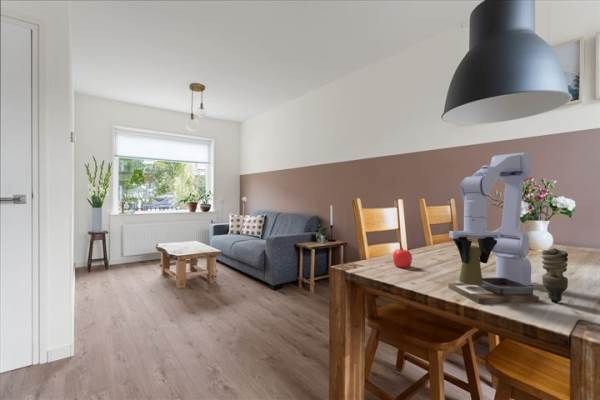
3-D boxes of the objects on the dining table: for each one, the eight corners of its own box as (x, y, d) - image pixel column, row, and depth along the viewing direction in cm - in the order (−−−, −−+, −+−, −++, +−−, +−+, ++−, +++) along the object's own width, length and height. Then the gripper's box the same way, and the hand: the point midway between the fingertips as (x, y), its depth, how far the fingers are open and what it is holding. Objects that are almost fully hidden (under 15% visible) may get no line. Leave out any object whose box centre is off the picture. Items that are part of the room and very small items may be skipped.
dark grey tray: (503, 283, 89) (503, 277, 89) (534, 294, 78) (534, 287, 78) (473, 284, 88) (473, 277, 87) (500, 295, 77) (500, 288, 77)
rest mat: (476, 285, 86) (476, 285, 86) (493, 293, 79) (493, 292, 79) (455, 286, 85) (455, 285, 85) (471, 294, 78) (471, 293, 78)
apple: (416, 268, 112) (416, 249, 112) (397, 269, 111) (398, 249, 111) (405, 264, 120) (406, 245, 120) (388, 264, 119) (389, 245, 119)
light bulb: (539, 301, 77) (540, 247, 77) (541, 296, 81) (542, 245, 81) (567, 307, 73) (568, 250, 73) (567, 302, 77) (569, 248, 77)
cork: (462, 284, 81) (463, 246, 81) (456, 278, 87) (457, 243, 87) (486, 286, 79) (486, 247, 80) (478, 280, 85) (479, 244, 85)
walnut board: (500, 286, 90) (500, 282, 90) (538, 301, 77) (538, 296, 77) (448, 287, 88) (448, 283, 88) (478, 303, 75) (478, 298, 75)
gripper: (488, 216, 86) (488, 259, 86) (443, 215, 85) (442, 259, 85) (506, 217, 79) (505, 265, 79) (457, 217, 78) (456, 265, 78)
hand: (474, 262), depth 82 cm, fingers closed on cork, 5 cm apart
